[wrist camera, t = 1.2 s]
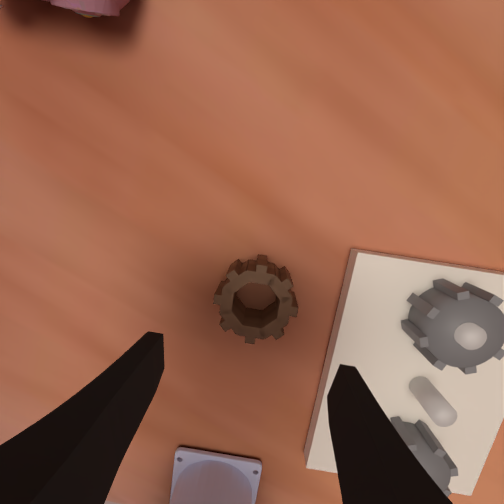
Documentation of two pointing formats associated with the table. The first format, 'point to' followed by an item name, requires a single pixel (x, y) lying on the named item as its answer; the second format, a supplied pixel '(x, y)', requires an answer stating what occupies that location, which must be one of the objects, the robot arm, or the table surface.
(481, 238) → the table surface
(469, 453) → the gear board
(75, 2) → the pink irregular piece
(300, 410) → the table surface
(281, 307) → the walnut gear
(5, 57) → the table surface
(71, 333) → the table surface
